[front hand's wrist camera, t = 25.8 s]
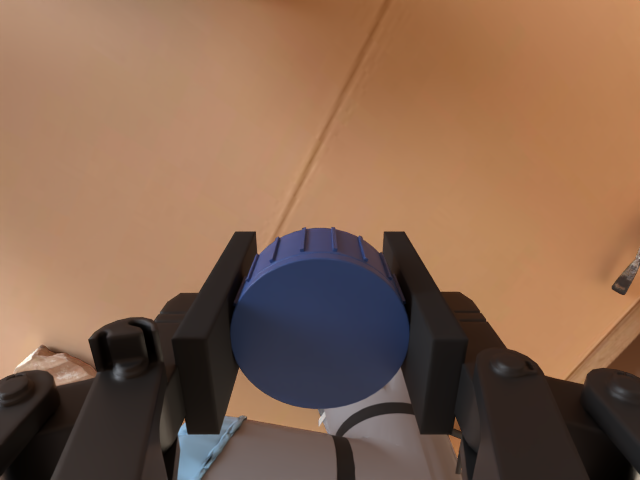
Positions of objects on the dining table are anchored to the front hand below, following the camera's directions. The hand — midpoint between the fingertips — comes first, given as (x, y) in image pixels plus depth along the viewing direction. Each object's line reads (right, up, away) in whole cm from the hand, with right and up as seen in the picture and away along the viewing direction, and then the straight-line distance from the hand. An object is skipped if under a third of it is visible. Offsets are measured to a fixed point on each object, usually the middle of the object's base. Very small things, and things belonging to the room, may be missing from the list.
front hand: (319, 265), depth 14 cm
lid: (0, -2, -4) cm, 4 cm away
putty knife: (+33, -1, +25) cm, 42 cm away
